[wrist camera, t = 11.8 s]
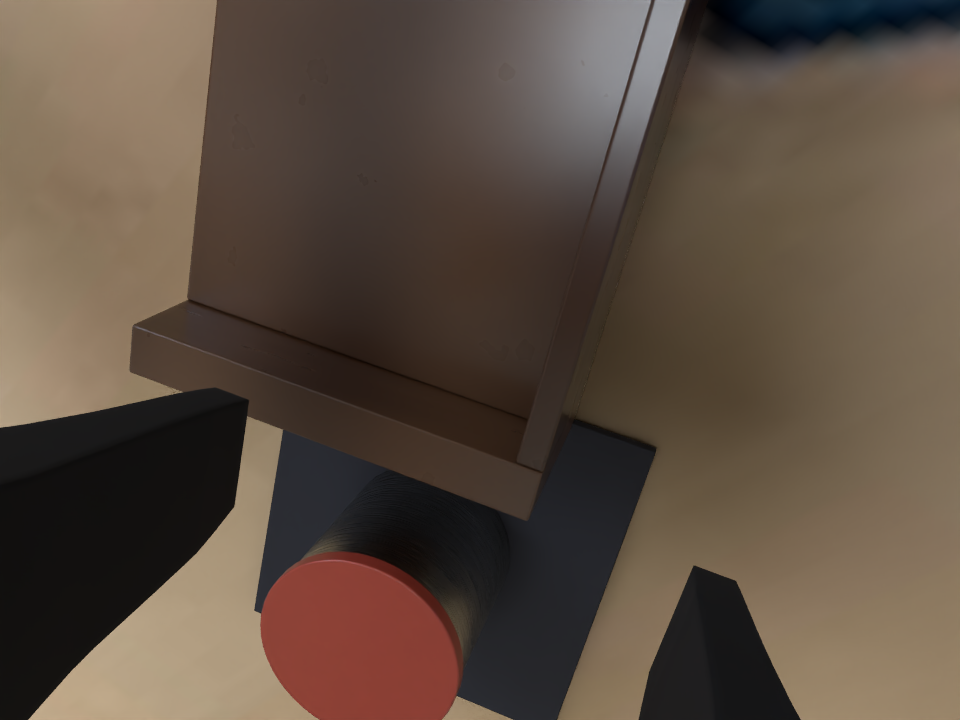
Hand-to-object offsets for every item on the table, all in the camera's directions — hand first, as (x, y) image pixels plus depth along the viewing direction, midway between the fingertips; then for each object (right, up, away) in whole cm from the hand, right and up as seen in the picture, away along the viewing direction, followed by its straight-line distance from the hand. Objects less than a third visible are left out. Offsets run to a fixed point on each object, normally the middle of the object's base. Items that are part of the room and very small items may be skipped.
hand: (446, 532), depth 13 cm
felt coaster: (-1, -2, +12) cm, 12 cm away
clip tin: (-1, -3, +11) cm, 12 cm away
